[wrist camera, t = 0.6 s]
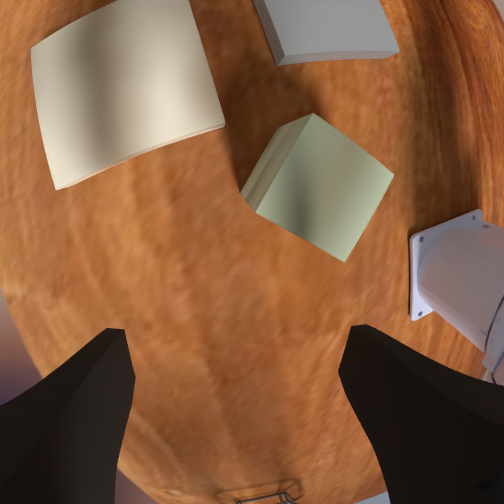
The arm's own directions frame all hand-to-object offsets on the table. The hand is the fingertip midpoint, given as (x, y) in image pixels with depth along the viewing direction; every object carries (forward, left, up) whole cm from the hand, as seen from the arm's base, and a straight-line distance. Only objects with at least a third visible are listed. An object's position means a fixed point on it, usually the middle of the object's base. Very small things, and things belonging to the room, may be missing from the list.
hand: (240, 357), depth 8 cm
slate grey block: (-10, -14, -10) cm, 20 cm away
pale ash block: (+3, -12, -10) cm, 16 cm away
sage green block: (-5, -3, -10) cm, 11 cm away
